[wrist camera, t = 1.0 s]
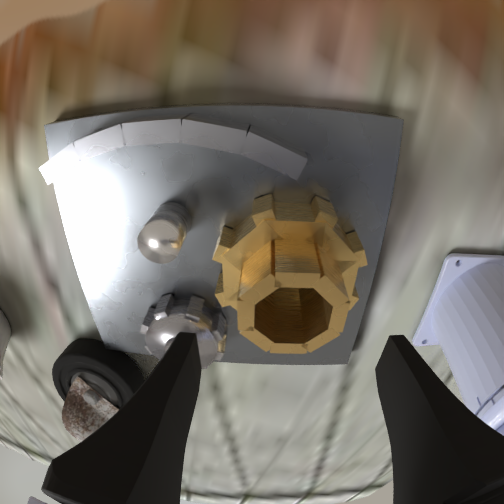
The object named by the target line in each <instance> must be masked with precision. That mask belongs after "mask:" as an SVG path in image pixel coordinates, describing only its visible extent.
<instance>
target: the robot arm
mask: <svg viewBox="0 0 504 504" xmlns="http://www.w3.org/2000/svg"><path fill="white" fill-rule="evenodd" d="M458 260H459V261H458ZM457 261H458V262H457ZM456 262H457V263H456ZM412 342H413V344H414V346H427V345H438V344H440V346H441V348H442V350H443V352H444V355H445V357H446V359H447V362H448V364H449V366H450V369H451V371H452V373H453V376H454V378H455V381H456V383H457V386H458V388H459V391H460V393H461V396H462V398H463V401H464V404H465V405H464V404H463V403H462V402H461V401H460V400H459V399H458V398H457V397H456V396H455V395H454V394H453V393H452V392H451V391H450V390H449V389H448V388H447V387H446V386H445V385H444V383H443V382H442V381H441V380H440V379H439V378H438V377H437V375H436V374H435V373H434V372H433V371H432V369H431V368H430V367H429V366H428V364H427V363H426V362H425V361H424V360H423V358H422V357H421V356H420V355H419V353H418V352H417V351H416V350H415V348H414V347H413V346H412V345H411V343H410V342H409V341H408V340H407V338H406V337H405V336H404V335H390V336H389V338H388V340H387V343H386V345H385V348H384V350H383V352H382V355H381V357H380V359H379V362H378V364H377V366H376V368H375V371H376V380H377V387H378V393H379V398H380V402H381V406H382V410H383V414H384V418H385V422H386V426H387V430H388V434H389V439H390V444H391V452H392V463H393V483H394V495H393V496H394V498H393V504H504V256H502V255H480V254H457V253H452V254H449V255H448V256H447V257H446V258H445V260H444V263H443V266H442V268H441V271H440V274H439V277H438V279H437V282H436V285H435V287H434V290H433V293H432V295H431V298H430V300H429V303H428V305H427V307H426V310H425V312H424V315H423V317H422V319H421V322H420V324H419V326H418V328H417V331H416V333H415V335H414V337H413V339H412ZM201 369H202V366H201V360H200V354H199V348H198V341H197V335H196V333H190V332H179V333H178V334H177V335H176V337H175V339H174V340H173V342H172V343H171V345H170V347H169V348H168V350H167V351H166V353H165V354H164V356H163V357H162V359H161V360H160V361H159V363H158V364H157V366H156V367H155V368H154V370H153V371H152V372H151V374H150V375H149V376H148V378H147V379H146V380H145V381H144V383H143V384H142V385H141V386H140V387H139V389H138V390H137V391H136V392H135V394H134V395H133V396H132V397H131V398H130V399H129V400H128V401H127V402H126V403H125V404H124V405H123V406H122V408H121V409H120V410H119V411H118V412H117V413H115V414H114V415H113V416H112V417H111V418H110V419H109V420H108V421H107V422H106V423H105V424H103V425H102V426H101V427H100V428H99V429H97V430H96V431H95V432H94V433H92V434H91V435H90V436H88V437H87V438H86V439H84V440H83V441H82V442H80V443H79V444H77V445H76V446H75V447H73V448H71V449H70V450H68V451H66V452H65V453H63V454H62V455H60V456H58V457H57V458H55V459H53V460H52V462H51V464H50V466H49V468H48V471H47V474H46V477H45V479H44V482H43V485H42V489H41V490H42V491H43V492H44V493H45V494H46V495H48V496H49V497H51V498H53V499H54V500H56V501H58V502H59V503H61V504H180V492H181V481H182V471H183V462H184V454H185V447H186V442H187V437H188V433H189V429H190V425H191V421H192V417H193V413H194V409H195V405H196V401H197V397H198V392H199V385H200V378H201ZM28 504H47V503H44V502H42V501H40V500H38V499H36V498H34V497H32V496H31V497H29V501H28Z"/></svg>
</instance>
